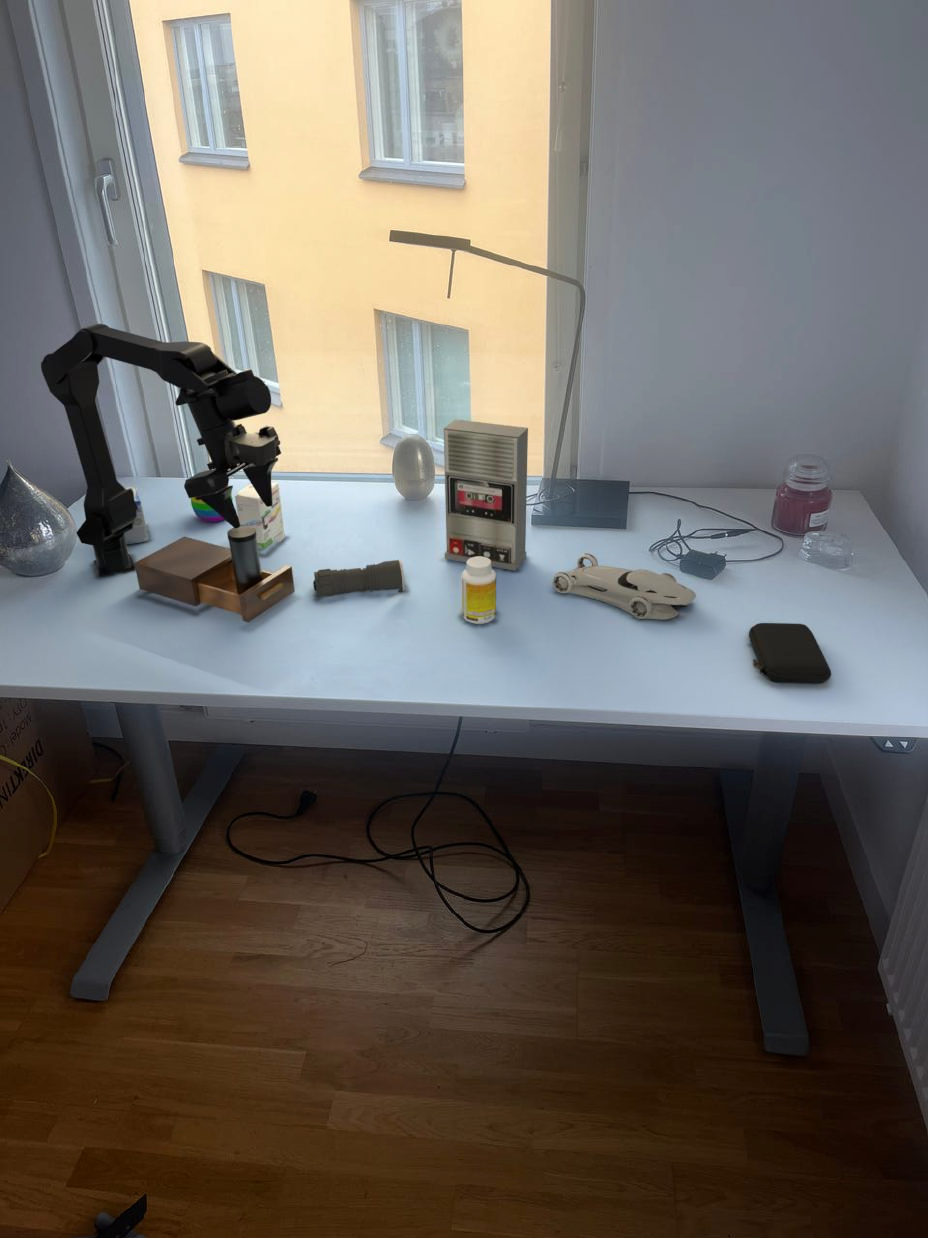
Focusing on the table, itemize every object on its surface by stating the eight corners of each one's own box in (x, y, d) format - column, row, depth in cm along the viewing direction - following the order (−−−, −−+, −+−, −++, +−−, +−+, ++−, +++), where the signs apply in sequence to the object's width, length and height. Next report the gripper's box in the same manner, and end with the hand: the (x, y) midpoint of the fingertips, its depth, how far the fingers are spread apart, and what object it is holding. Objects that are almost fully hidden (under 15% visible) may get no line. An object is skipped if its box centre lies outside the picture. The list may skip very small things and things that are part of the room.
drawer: (189, 609, 157) (183, 578, 154) (237, 579, 166) (232, 550, 163) (252, 629, 151) (247, 597, 148) (298, 597, 160) (295, 567, 157)
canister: (232, 602, 157) (221, 534, 150) (250, 591, 160) (240, 523, 154) (253, 609, 155) (243, 539, 148) (271, 597, 158) (262, 528, 152)
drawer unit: (141, 596, 162) (133, 562, 159) (190, 568, 171) (184, 536, 168) (197, 613, 157) (190, 579, 153) (244, 583, 166) (239, 550, 162)
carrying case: (738, 634, 148) (757, 687, 135) (741, 617, 147) (760, 669, 134) (807, 636, 147) (832, 689, 135) (810, 619, 146) (836, 671, 133)
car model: (578, 566, 169) (579, 541, 167) (704, 602, 157) (708, 576, 155) (546, 590, 162) (547, 564, 159) (677, 630, 149) (680, 603, 147)
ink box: (265, 556, 175) (257, 498, 169) (242, 553, 176) (233, 495, 170) (286, 537, 182) (279, 480, 176) (263, 534, 183) (255, 478, 177)
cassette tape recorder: (444, 560, 172) (440, 429, 160) (457, 546, 177) (454, 418, 164) (515, 572, 168) (517, 439, 155) (526, 558, 173) (529, 427, 160)
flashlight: (316, 606, 158) (312, 578, 155) (313, 591, 163) (310, 564, 160) (405, 596, 161) (404, 568, 158) (401, 581, 165) (399, 554, 163)
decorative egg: (229, 525, 187) (222, 478, 182) (189, 525, 187) (181, 478, 182) (238, 508, 194) (232, 463, 189) (199, 509, 194) (192, 463, 189)
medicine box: (121, 529, 186) (112, 489, 182) (144, 525, 188) (136, 485, 183) (125, 545, 180) (116, 503, 176) (149, 541, 181) (141, 499, 177)
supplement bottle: (502, 620, 153) (502, 564, 148) (471, 628, 151) (470, 572, 146) (486, 605, 157) (486, 551, 152) (456, 613, 155) (455, 558, 150)
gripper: (218, 434, 136) (259, 532, 142) (288, 398, 151) (322, 488, 156) (164, 448, 141) (205, 542, 147) (236, 411, 156) (271, 498, 162)
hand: (254, 516), depth 153 cm, fingers open, 9 cm apart
